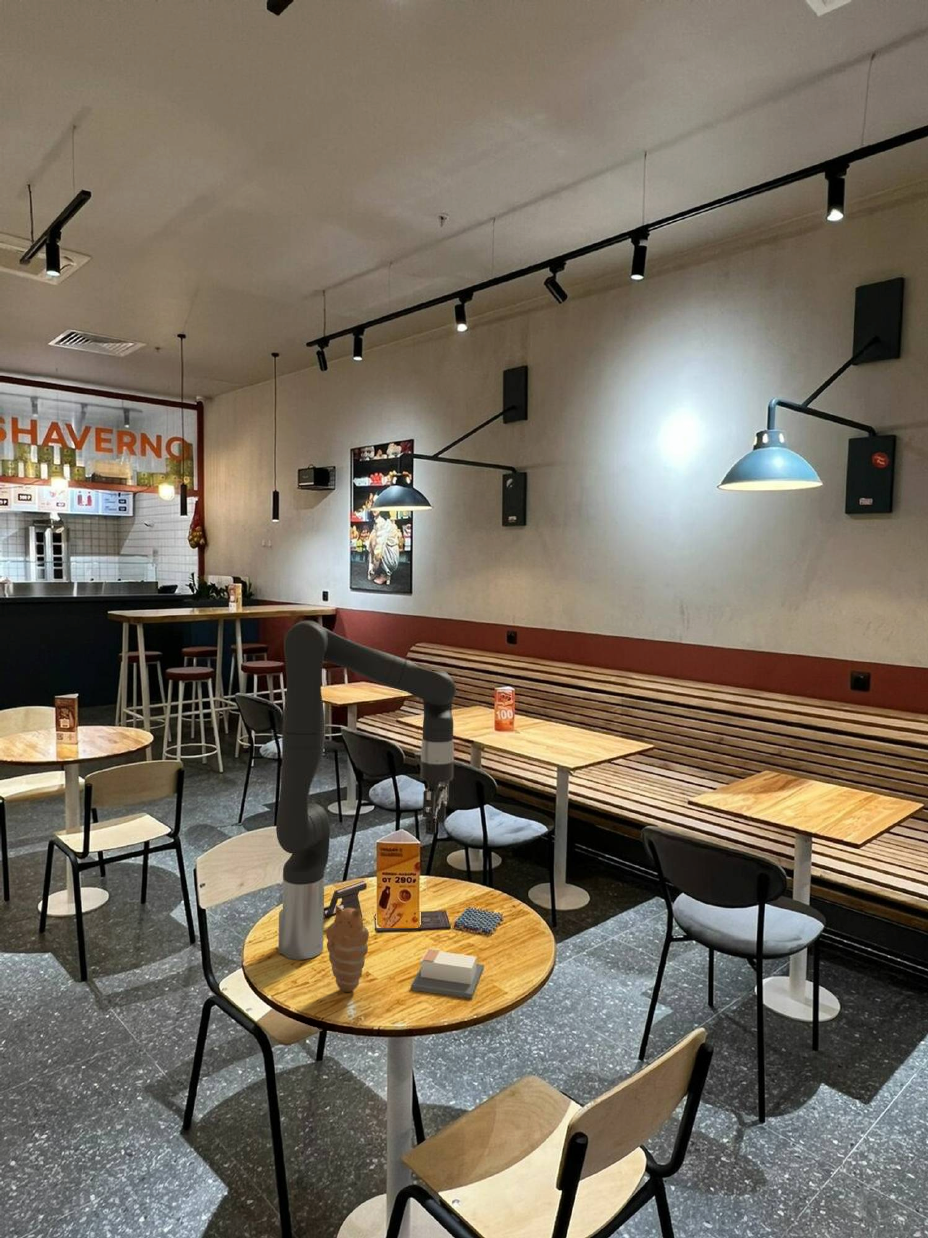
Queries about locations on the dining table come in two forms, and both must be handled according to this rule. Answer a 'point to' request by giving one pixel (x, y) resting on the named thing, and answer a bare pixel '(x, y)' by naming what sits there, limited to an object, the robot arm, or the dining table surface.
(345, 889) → the portable electronic device stand
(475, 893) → the dining table surface
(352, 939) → the cat ice cream
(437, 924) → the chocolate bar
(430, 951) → the block with tan end
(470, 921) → the woven mat
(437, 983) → the rubber mat
